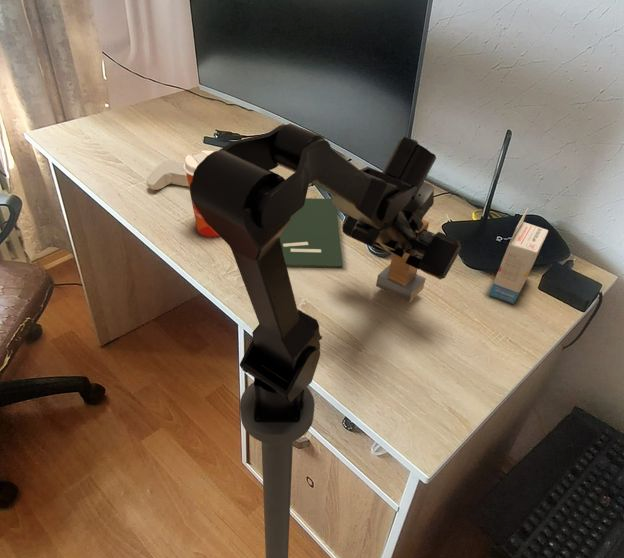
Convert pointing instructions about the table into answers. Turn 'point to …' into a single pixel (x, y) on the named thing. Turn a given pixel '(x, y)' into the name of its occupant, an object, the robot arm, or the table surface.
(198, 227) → the coffee cup
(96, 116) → the table surface
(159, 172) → the game controller
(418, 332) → the table surface
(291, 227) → the chalkboard
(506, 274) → the ink box
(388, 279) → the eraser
